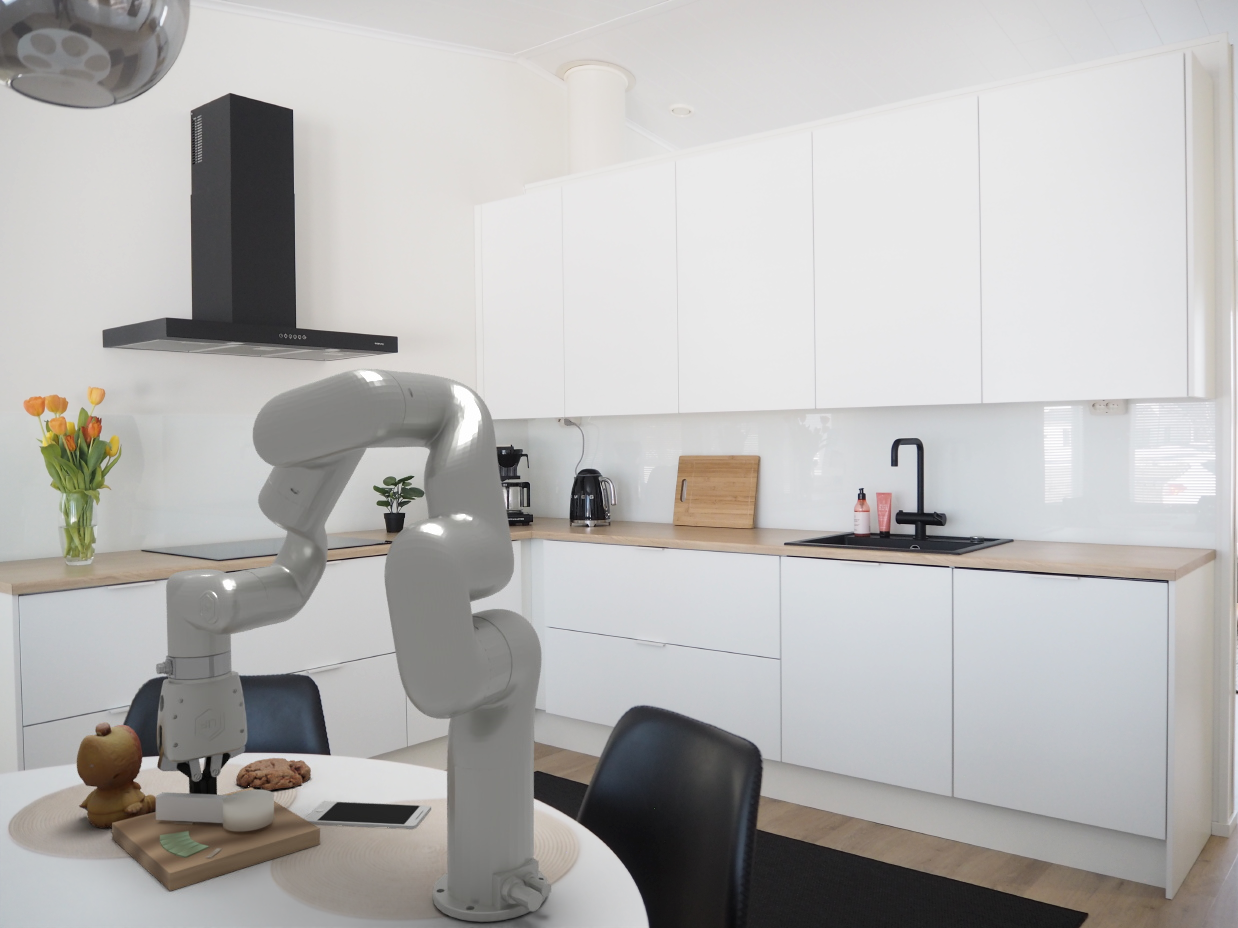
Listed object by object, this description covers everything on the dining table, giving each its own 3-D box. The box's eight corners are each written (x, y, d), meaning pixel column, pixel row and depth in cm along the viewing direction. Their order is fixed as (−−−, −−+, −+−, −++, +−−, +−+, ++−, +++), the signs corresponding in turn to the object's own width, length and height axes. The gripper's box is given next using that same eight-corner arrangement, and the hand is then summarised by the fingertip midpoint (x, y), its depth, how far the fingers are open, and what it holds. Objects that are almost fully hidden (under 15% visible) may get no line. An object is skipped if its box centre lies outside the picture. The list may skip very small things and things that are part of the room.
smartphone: (324, 806, 134) (324, 799, 134) (431, 811, 132) (431, 804, 132) (301, 826, 127) (301, 819, 127) (414, 832, 125) (414, 825, 125)
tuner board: (319, 843, 120) (319, 826, 120) (170, 890, 107) (169, 871, 107) (251, 801, 134) (251, 785, 134) (112, 838, 122) (112, 821, 122)
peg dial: (282, 813, 123) (282, 790, 123) (259, 832, 117) (259, 808, 117) (172, 808, 125) (172, 785, 125) (145, 826, 119) (144, 802, 119)
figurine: (172, 809, 131) (152, 711, 127) (132, 844, 124) (109, 741, 120) (112, 802, 134) (91, 706, 130) (70, 835, 127) (46, 735, 123)
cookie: (242, 773, 147) (242, 754, 147) (314, 768, 149) (314, 749, 149) (229, 797, 137) (229, 776, 137) (307, 791, 139) (307, 771, 139)
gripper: (148, 680, 116) (151, 831, 116) (268, 660, 126) (271, 799, 127) (128, 671, 122) (132, 815, 122) (245, 652, 132) (249, 785, 132)
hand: (203, 806), depth 124 cm, fingers closed
